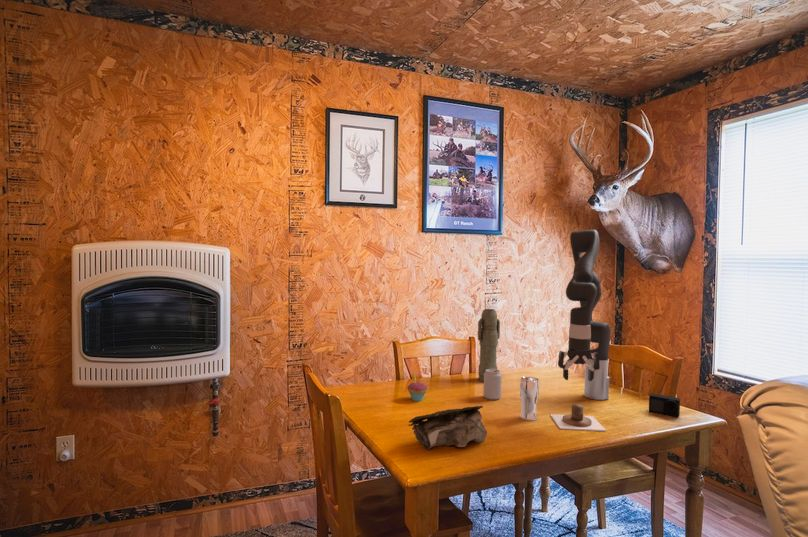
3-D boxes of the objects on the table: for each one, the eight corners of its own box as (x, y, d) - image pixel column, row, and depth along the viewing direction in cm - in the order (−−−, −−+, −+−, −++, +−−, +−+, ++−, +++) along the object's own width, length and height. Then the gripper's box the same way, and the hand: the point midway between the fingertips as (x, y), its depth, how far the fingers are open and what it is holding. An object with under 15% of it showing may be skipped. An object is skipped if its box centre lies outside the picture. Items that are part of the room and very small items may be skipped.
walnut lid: (586, 417, 172) (587, 402, 172) (595, 427, 163) (596, 411, 162) (559, 416, 173) (560, 400, 173) (566, 426, 163) (567, 409, 163)
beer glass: (538, 416, 174) (539, 377, 174) (537, 422, 168) (538, 382, 167) (519, 413, 177) (521, 375, 176) (518, 419, 170) (519, 380, 170)
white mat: (592, 417, 174) (592, 416, 174) (606, 431, 160) (606, 430, 160) (550, 415, 175) (550, 414, 175) (559, 429, 162) (559, 427, 162)
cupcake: (404, 400, 189) (404, 372, 189) (411, 395, 197) (412, 367, 197) (423, 403, 186) (424, 374, 185) (430, 398, 194) (431, 370, 193)
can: (501, 401, 192) (501, 373, 191) (483, 399, 193) (483, 371, 193) (500, 395, 199) (501, 368, 198) (483, 394, 200) (484, 367, 200)
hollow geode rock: (410, 466, 141) (425, 445, 131) (398, 427, 149) (411, 405, 139) (486, 450, 152) (505, 429, 142) (471, 414, 160) (488, 393, 150)
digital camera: (647, 413, 181) (648, 395, 181) (649, 409, 185) (650, 392, 185) (677, 419, 175) (678, 401, 175) (679, 415, 179) (680, 397, 179)
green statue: (502, 380, 223) (504, 310, 222) (484, 384, 217) (486, 311, 216) (490, 376, 231) (492, 308, 230) (472, 379, 224) (474, 309, 223)
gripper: (596, 335, 170) (594, 378, 171) (557, 333, 171) (555, 376, 172) (603, 339, 163) (601, 383, 163) (562, 337, 164) (561, 381, 164)
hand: (578, 380), depth 167 cm, fingers open, 8 cm apart
